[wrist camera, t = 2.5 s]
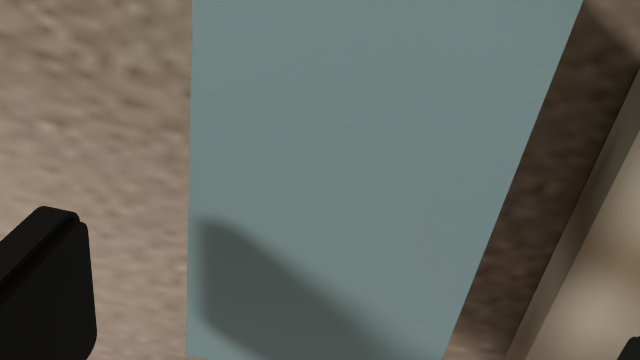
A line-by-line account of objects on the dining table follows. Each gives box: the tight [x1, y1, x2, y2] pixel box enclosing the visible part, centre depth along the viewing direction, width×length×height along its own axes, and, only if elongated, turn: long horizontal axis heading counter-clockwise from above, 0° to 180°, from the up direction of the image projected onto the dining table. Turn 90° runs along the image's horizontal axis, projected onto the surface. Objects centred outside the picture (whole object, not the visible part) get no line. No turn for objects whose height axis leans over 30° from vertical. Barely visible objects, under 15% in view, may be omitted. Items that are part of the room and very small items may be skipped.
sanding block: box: [186, 0, 583, 360], centre depth 14 cm, size 10×6×7 cm, turn 172°
